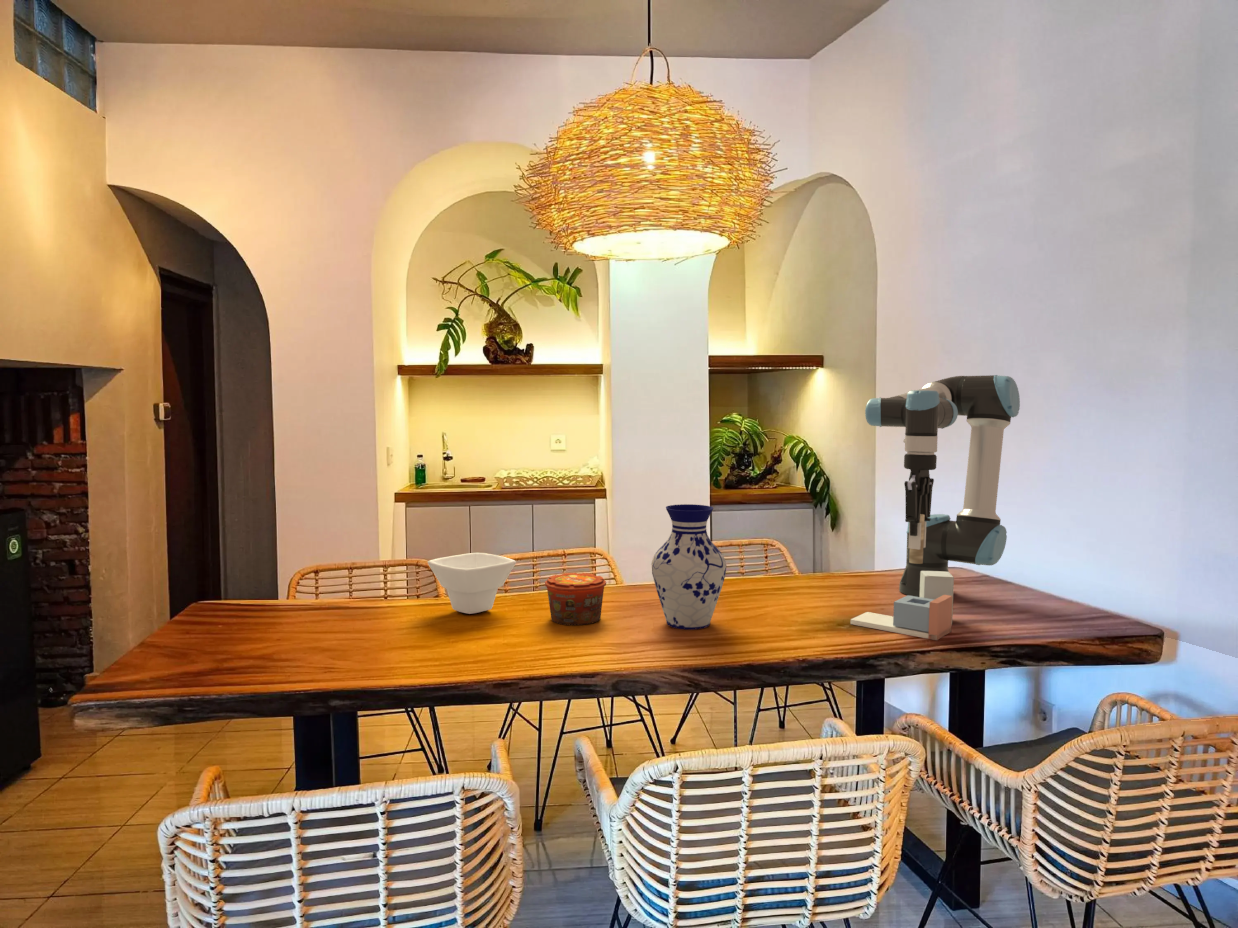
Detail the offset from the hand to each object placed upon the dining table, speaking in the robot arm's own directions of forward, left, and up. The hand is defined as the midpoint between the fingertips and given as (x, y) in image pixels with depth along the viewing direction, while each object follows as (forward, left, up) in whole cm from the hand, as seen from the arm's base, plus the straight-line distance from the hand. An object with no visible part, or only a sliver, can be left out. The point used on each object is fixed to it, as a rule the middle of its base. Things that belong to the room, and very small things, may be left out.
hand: (916, 547), depth 213 cm
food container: (+48, -71, -21) cm, 88 cm away
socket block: (0, +1, -19) cm, 19 cm away
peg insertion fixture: (0, -4, -21) cm, 21 cm away
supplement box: (-12, +1, -21) cm, 24 cm away
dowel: (0, 0, -4) cm, 4 cm away
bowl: (+60, -97, -21) cm, 116 cm away
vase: (+32, -46, -21) cm, 60 cm away
